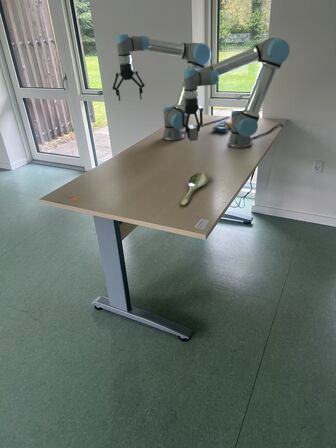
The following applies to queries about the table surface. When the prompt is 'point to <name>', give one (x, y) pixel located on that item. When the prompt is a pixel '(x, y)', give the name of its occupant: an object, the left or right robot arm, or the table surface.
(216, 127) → the spray gun
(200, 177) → the spoon
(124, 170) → the table surface
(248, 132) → the right robot arm
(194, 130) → the brick
